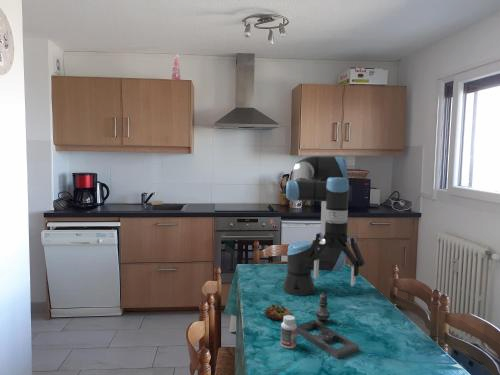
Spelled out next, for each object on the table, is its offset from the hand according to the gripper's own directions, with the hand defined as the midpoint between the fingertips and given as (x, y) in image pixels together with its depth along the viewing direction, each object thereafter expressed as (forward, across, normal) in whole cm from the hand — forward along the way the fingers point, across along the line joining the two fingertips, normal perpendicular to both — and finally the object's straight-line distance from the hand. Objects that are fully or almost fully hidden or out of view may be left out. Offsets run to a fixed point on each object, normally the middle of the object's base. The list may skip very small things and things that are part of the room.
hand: (334, 281), depth 133 cm
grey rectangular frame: (+21, -1, -4) cm, 21 cm away
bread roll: (+21, -25, +6) cm, 33 cm away
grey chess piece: (+21, -8, +11) cm, 25 cm away
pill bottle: (+21, -10, -14) cm, 27 cm away
